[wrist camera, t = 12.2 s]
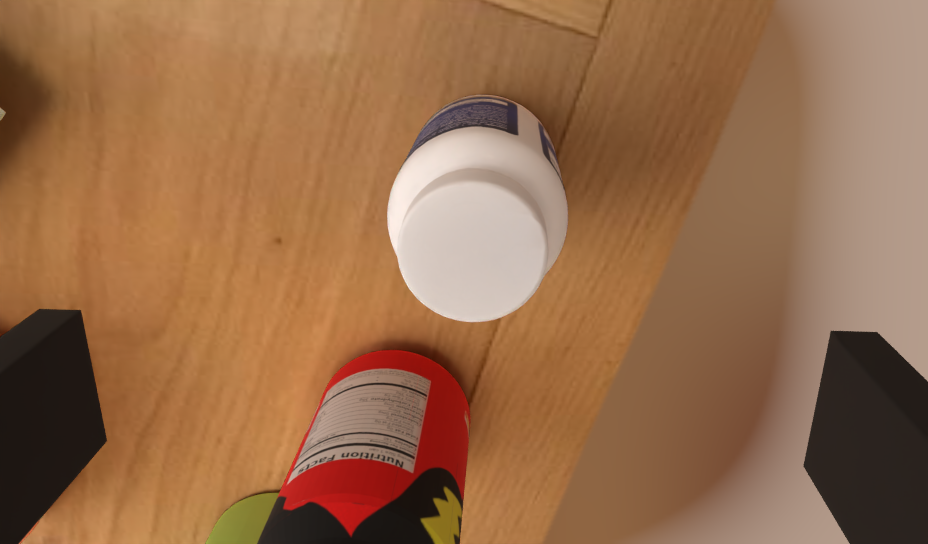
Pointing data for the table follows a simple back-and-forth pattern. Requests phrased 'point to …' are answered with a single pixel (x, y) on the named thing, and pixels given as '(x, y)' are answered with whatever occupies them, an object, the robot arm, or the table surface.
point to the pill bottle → (478, 209)
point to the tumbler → (243, 521)
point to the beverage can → (379, 458)
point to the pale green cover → (2, 113)
